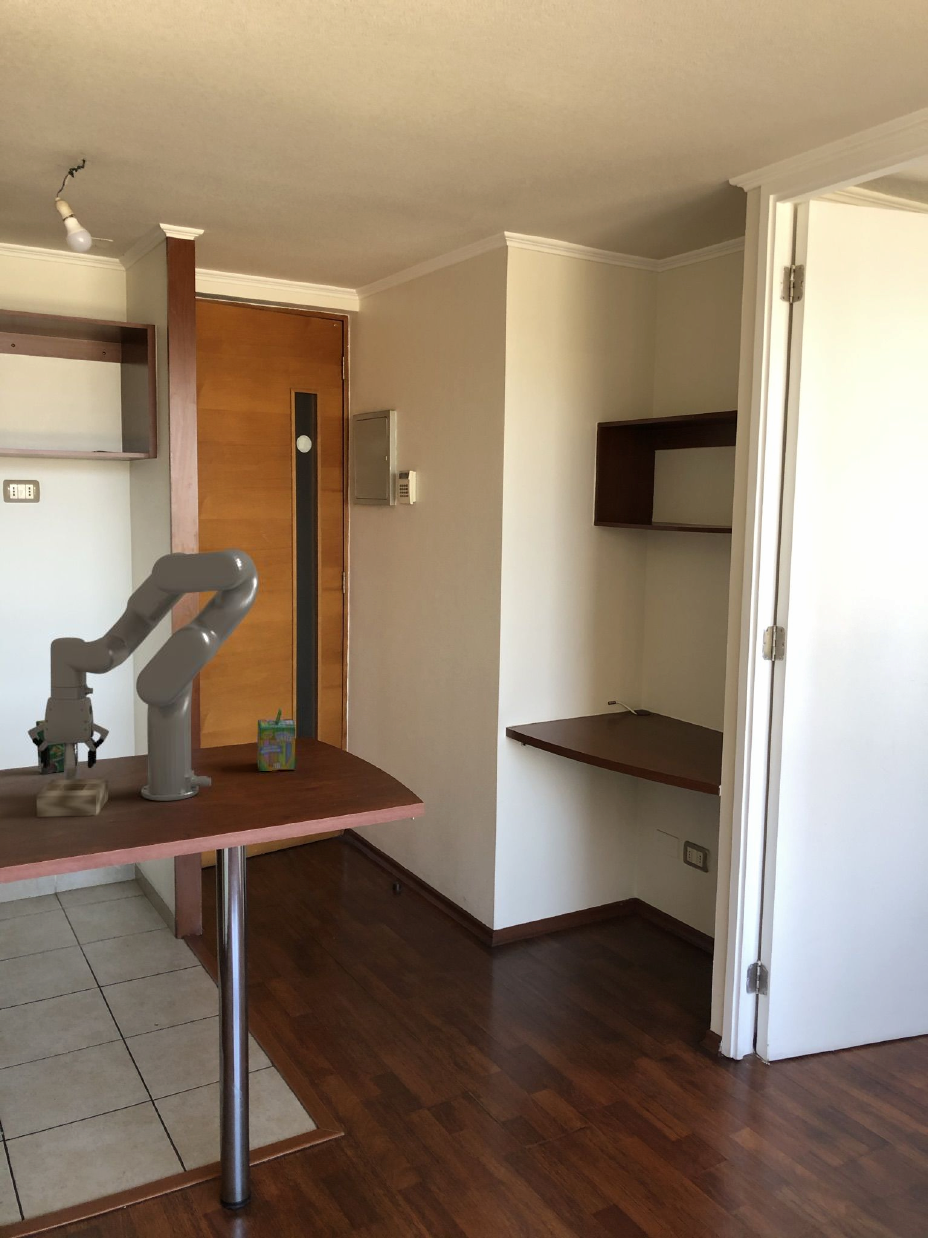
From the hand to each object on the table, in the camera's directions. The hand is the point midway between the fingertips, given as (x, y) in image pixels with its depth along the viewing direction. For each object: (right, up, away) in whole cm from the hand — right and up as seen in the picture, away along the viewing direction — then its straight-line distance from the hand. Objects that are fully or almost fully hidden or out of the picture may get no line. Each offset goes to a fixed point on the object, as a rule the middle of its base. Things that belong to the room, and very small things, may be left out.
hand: (68, 766), depth 226 cm
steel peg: (0, -6, +1) cm, 6 cm away
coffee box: (-10, -4, +17) cm, 20 cm away
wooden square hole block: (+5, -7, -10) cm, 13 cm away
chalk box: (+42, -4, +26) cm, 50 cm away
